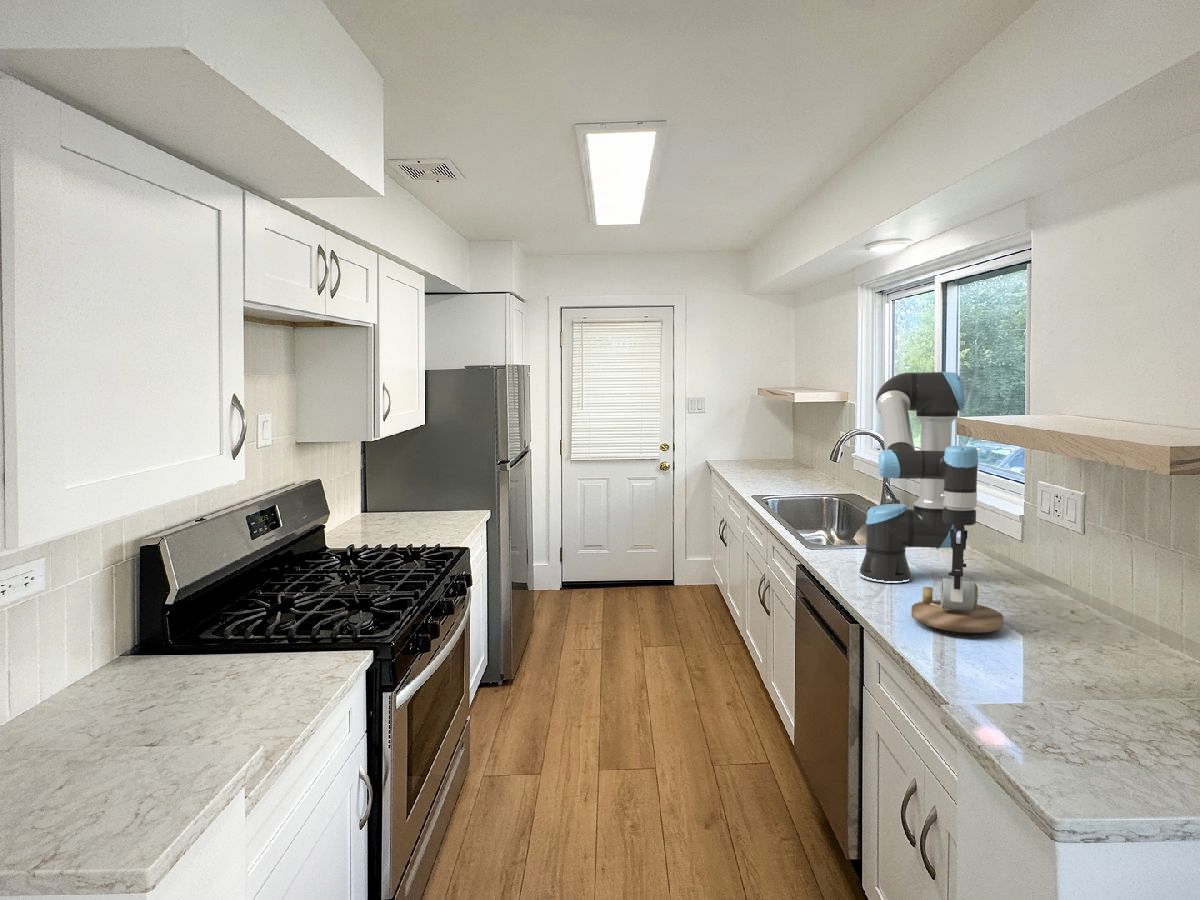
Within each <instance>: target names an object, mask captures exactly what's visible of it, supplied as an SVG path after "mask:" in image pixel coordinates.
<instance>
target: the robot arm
mask: <svg viewBox="0 0 1200 900" xmlns="http://www.w3.org/2000/svg"><path fill="white" fill-rule="evenodd" d="M875 406H876V407H875V408H876V410H877V412H878V413H879V414H880V418H881V428H882V436H883V444H884V449H883V450H881V451H880V452H879V453H878V474H879V476H880V477H882V478H884V479H885V478H886V479H887V478H888V479H893V480H897V479H904V480H907V479H912V480H914V479H919V495H918V496H919V498H918V499H917V500H916V501H915V502H914V503H913V509H908V507H907V505H906V504H903V503H886V504H879V505H874V506H871V507H870V508H869V509H867V513H866V520H865V524H866V536H865V537H866V538H865V541H866V542H865V554H864V558H863V560H862V562H861V564H860V568H859V574H860V573H861V574H862V575H864V576H866V577H869V578H872V579H876V580H884V581H903V580H908V579H910V578H911V579H912V575H911V574H912V572H911V568H910V566H909V562H908V561H907V557H906V547H909V548H910V547H911V548H914V547H915V548H931V549H933V548H934V549H938V550H940V549H952V561H951V571H950V572H948V576H950V579H951V601H954V602H963V581H964V570H965V568H966V569H967V563H965V560H964V550H966V548H967V539H968V530H965V528H966V527H965V526H968V527H969V526H974V525H976V522H977V510H976V509H975V508H978V507H977V506H978V503H977V499H978V491H977V486H978V485H977V484H978V465H979V464H978V463H979V456H978V452H979V451H978V449H977V448H976V447H974V446H970V445H952V437H953V436H952V435H953V433H952V431H953V422H954V421H955V420H957V418H959V415H958V414H959V413H958V412H961V411H963V410H965V390H964V384H963V381H962V378H961V376H960V375H959V374H958V373H956V372H951V371H938V372H937V371H936V372H935V371H934V372H933V371H932V372H929V371H928V372H902V373H899V374H896V375H894V376H892V377H890V378H889V379H888V380H887V381H885V382H884V384H883V385H882V386H881V387H880V388H879V390H878V392H877V393H876V398H875ZM909 411H910V412H911V411H915V417H916V419H918V420H919V421H920V424H921V425H920V427H921V429H920V450H915V449H916V448H915V445H914V438H913V431H912V427H911V421H910V416H909V415H910V413H909Z"/></svg>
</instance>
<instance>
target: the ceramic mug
mask: <svg viewBox="0 0 1200 900" xmlns="http://www.w3.org/2000/svg"><path fill="white" fill-rule="evenodd" d="M940 590H941V591H940V592H941V594H940V600H941V608H942V609H952V610H963V611H974V610H976V608H977V604H978V599H979V588H978V585H977V584H976V583H974V582H971V581H967V580H966V581H965V580H963V602H954V601H951V578H947V577H946V578H945V577H944V578H942V581H941V589H940Z"/></svg>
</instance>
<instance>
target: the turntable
mask: <svg viewBox="0 0 1200 900" xmlns="http://www.w3.org/2000/svg"><path fill="white" fill-rule="evenodd" d="M933 589H934V588H933V587H931V586H923V587H922V601H919V602H915V603H914V604H912V605H911V610H910V611H911V618H912V619H914V620H915V621H917V622H918V623H921V624H923V625H925V626H928V627H929V626H931V627H935V628H939V629H944V630H949V631H957V632H969V633H981V632H985V633H991V632H995V631H996V632H997V631H999V630H1001V629H1003V627H1004V615H1003V614H1002V613H1001V612H999V611H998V610H996V609H993V608H990V607H987V606H984V605H982V604H978V603H977V608H976V610H974V611H963V610H952V609H942V608H941V599H935V600H934V599H933V598H934V597H933V596H934V595H933V592H934V591H933ZM931 627H930V628H931Z"/></svg>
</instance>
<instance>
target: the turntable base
mask: <svg viewBox="0 0 1200 900" xmlns="http://www.w3.org/2000/svg"><path fill="white" fill-rule="evenodd" d="M928 627H929V628H931V629H933V630H935V629H936V630H935V631H938V630H939V631H938V632H941V631H942V633H945V632H947V633H946V634H951V633H954V634H953V635H958V634H962V635H961V636H975V635H976V634H977V636H978V635H983V634H985V633H986V632H981V633H969V632H957V631H949V630H944V629H939V628H935V627H931V626H928Z"/></svg>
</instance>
